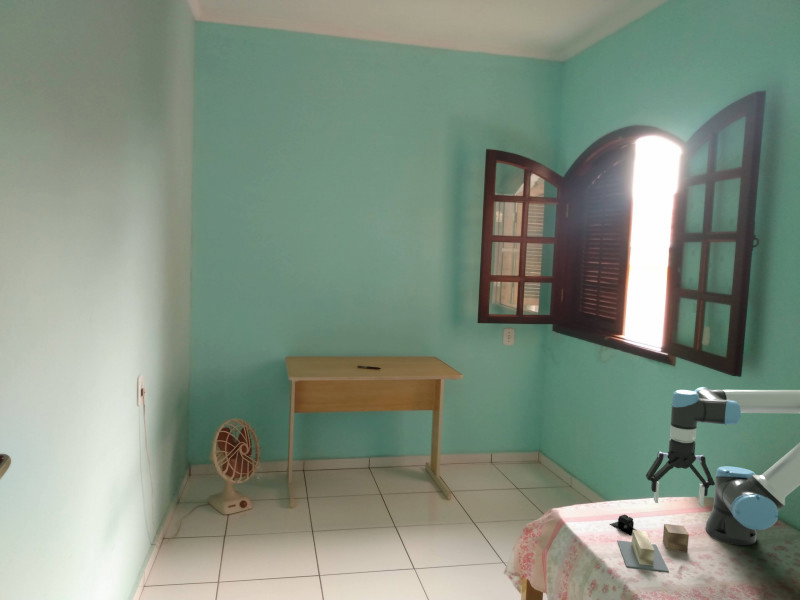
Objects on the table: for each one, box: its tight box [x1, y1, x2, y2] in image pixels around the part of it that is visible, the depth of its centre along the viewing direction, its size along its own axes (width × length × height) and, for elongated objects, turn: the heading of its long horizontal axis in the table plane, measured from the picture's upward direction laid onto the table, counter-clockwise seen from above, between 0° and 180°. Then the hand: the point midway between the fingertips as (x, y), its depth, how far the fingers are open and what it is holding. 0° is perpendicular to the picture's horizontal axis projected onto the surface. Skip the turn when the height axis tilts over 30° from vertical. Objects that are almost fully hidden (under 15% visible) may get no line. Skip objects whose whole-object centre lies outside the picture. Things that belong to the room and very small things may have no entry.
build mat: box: [617, 539, 670, 573], centre depth 191 cm, size 12×16×1 cm
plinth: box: [631, 529, 654, 566], centre depth 191 cm, size 4×12×5 cm, turn 170°
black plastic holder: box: [609, 514, 637, 537], centre depth 209 cm, size 12×7×5 cm, turn 29°
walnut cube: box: [662, 523, 690, 553], centre depth 198 cm, size 6×6×6 cm
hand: (678, 503), depth 196 cm, fingers open, 13 cm apart
